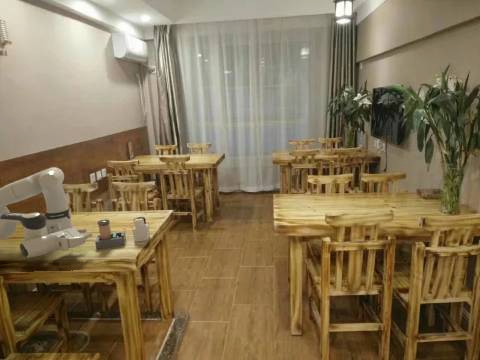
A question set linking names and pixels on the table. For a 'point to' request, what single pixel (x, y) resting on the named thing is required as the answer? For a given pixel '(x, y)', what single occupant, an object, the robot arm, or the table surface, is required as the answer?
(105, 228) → the terracotta jar
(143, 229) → the medicine bottle
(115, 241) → the grey rectangular box
